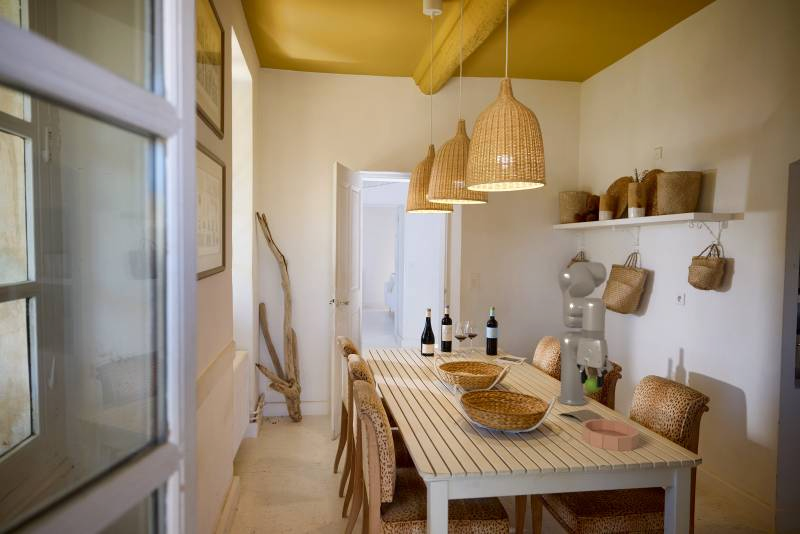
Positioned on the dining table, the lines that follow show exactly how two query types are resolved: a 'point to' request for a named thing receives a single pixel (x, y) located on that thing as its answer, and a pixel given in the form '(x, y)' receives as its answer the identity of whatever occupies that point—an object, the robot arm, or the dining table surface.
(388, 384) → the dining table surface
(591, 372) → the snail figurine
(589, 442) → the terracotta bowl
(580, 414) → the clay tablet
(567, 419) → the dining table surface
